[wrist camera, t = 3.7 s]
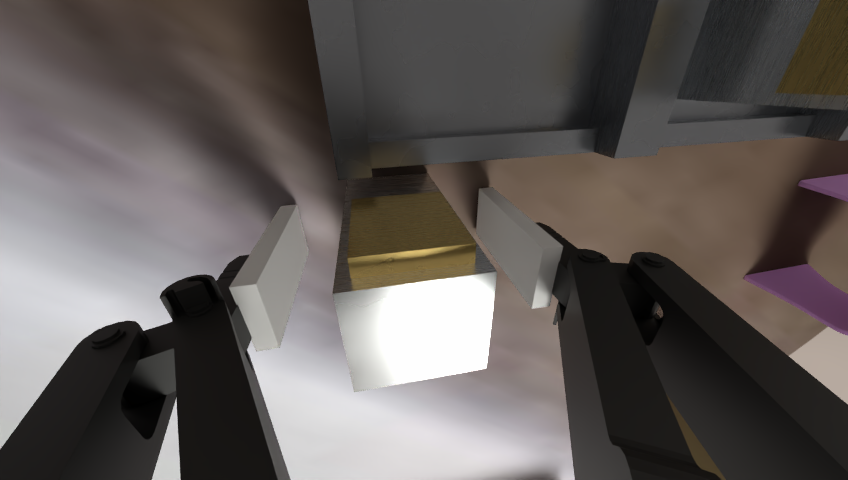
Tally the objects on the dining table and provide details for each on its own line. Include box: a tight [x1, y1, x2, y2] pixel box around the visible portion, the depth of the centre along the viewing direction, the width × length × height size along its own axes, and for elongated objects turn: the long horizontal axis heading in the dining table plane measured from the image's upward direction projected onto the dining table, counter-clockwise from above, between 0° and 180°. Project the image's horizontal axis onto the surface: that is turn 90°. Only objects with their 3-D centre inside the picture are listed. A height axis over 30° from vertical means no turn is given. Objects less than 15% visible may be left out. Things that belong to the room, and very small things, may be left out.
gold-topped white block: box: [333, 173, 497, 392], centre depth 13 cm, size 8×4×9 cm, turn 1°
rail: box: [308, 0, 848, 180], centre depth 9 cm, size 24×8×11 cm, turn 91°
